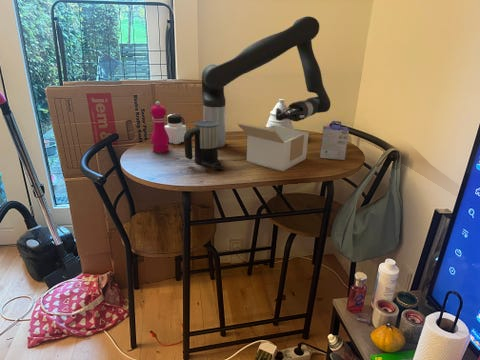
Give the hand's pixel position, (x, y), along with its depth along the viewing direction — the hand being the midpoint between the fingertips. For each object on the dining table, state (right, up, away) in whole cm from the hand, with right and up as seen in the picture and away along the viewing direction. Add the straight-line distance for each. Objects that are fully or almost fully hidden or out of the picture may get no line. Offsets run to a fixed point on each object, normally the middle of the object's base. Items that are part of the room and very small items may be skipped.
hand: (278, 117), depth 130 cm
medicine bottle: (-43, -6, +27) cm, 51 cm away
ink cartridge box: (+23, -14, +13) cm, 30 cm away
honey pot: (+5, -2, +39) cm, 39 cm away
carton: (0, -15, +7) cm, 17 cm away
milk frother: (-25, -17, +1) cm, 31 cm away
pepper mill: (-47, -11, +16) cm, 51 cm away
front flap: (-7, -6, -7) cm, 12 cm away
